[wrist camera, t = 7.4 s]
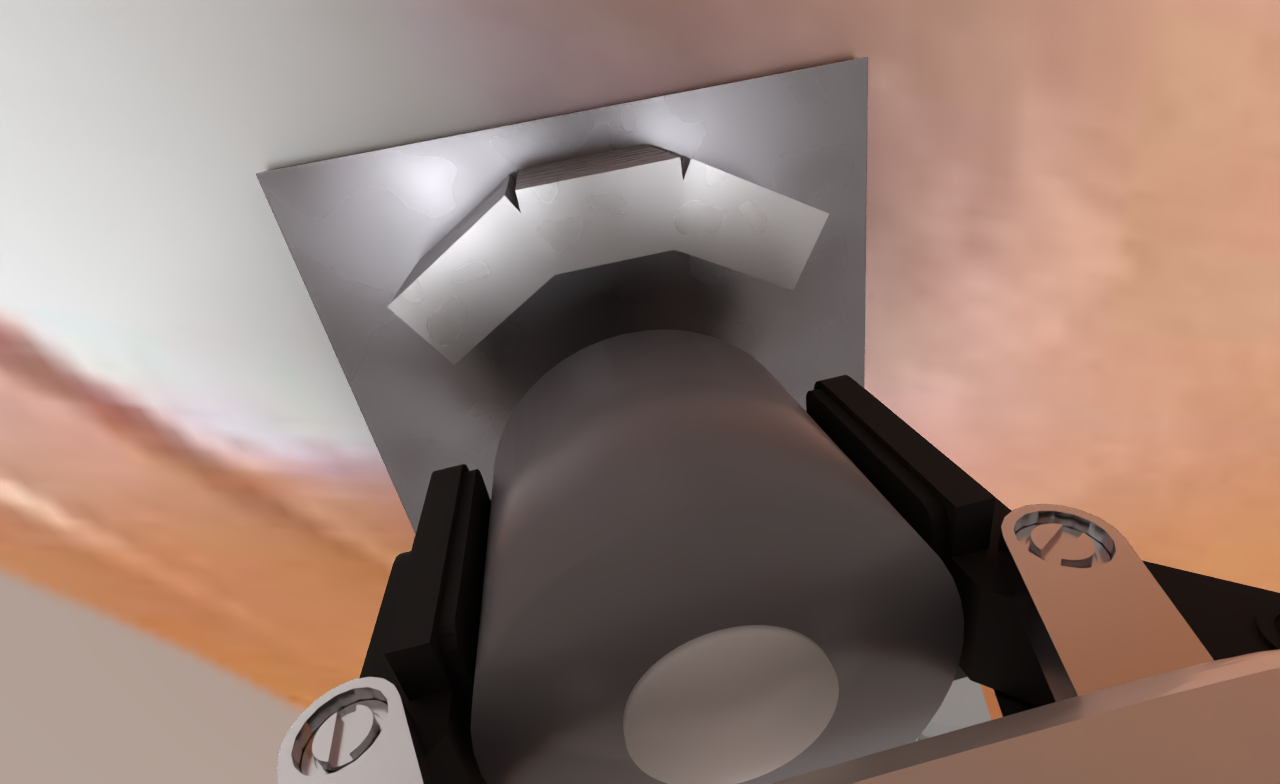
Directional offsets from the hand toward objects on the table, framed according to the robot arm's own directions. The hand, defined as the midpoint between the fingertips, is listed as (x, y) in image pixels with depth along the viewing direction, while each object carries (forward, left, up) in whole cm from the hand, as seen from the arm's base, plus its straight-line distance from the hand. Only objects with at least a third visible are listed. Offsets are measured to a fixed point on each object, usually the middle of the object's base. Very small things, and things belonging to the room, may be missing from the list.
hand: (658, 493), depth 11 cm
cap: (0, 0, -1) cm, 1 cm away
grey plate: (0, 0, -4) cm, 4 cm away
